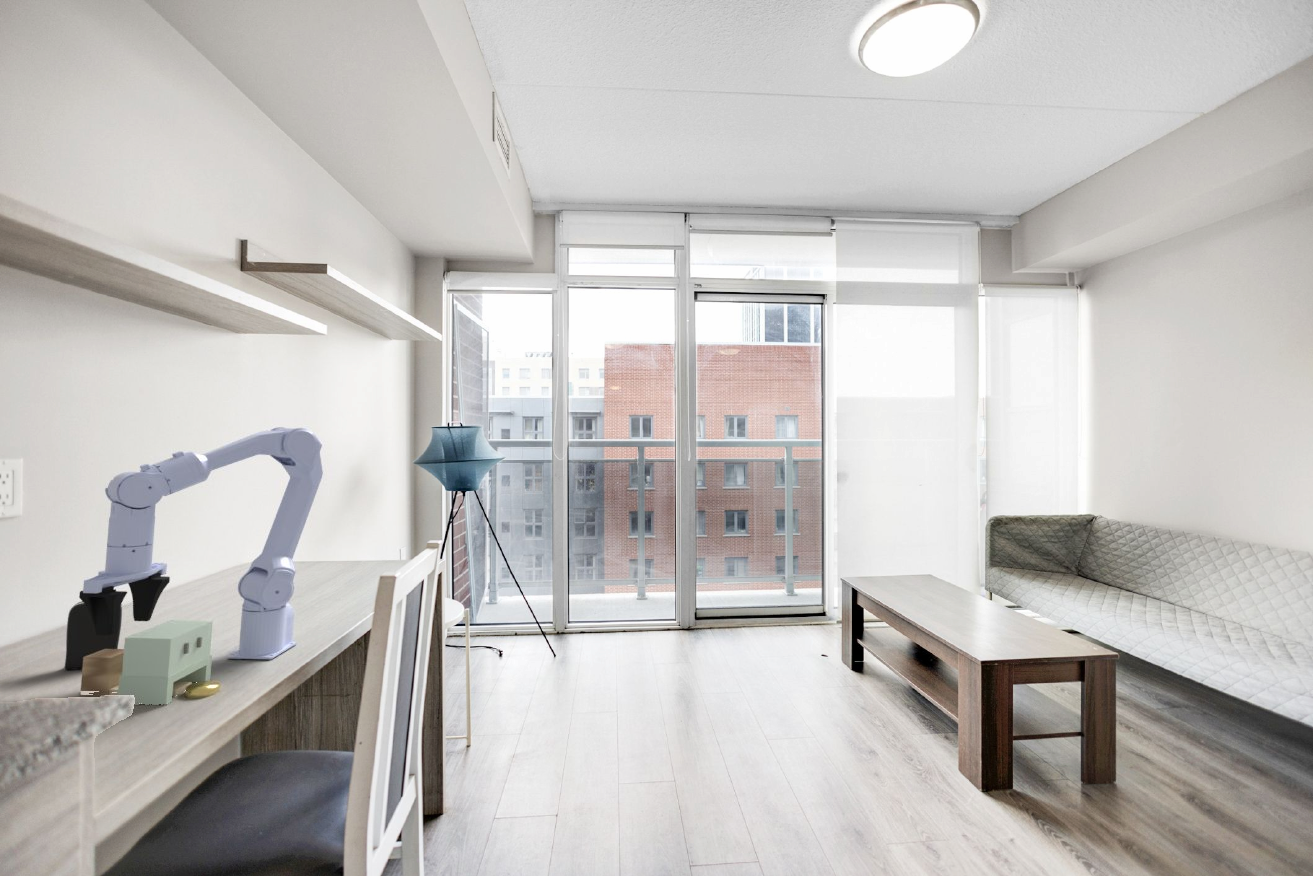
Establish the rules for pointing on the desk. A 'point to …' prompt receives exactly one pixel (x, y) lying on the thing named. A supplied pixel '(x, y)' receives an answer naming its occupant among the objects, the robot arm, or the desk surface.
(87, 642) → the battery charger
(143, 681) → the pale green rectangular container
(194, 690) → the disc
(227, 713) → the desk surface
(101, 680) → the wooden rectangular block
